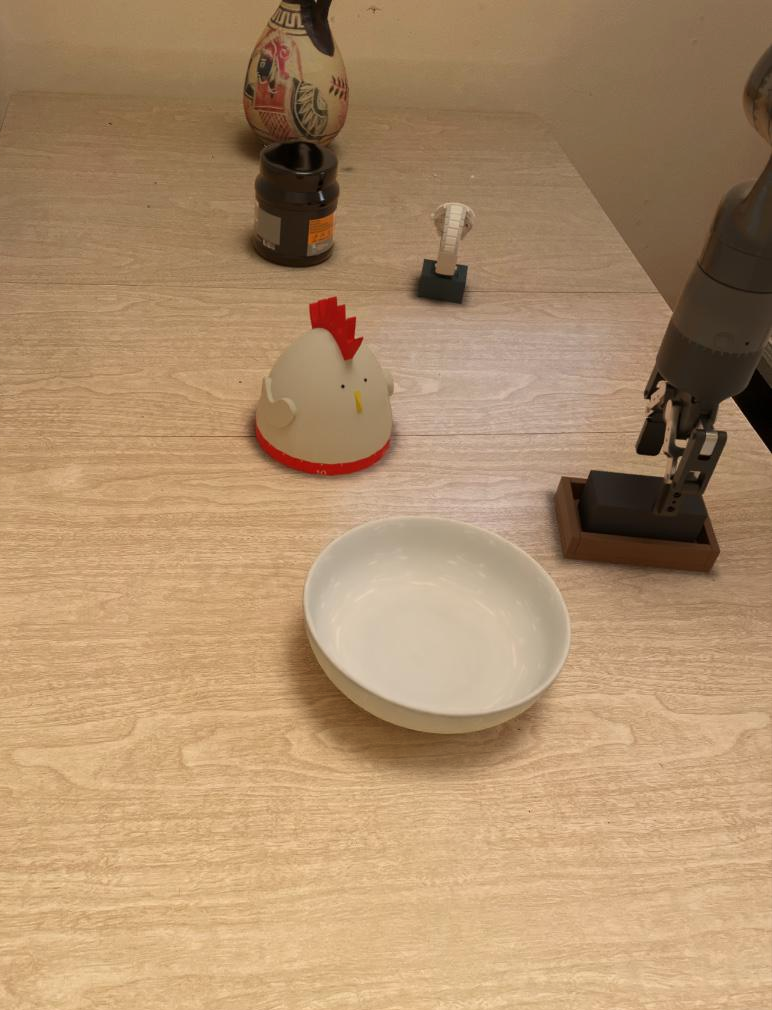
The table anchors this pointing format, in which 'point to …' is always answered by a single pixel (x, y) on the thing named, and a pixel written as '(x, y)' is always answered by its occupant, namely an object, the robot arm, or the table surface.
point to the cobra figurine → (447, 255)
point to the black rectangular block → (635, 508)
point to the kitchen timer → (326, 399)
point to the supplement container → (296, 203)
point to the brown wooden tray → (628, 539)
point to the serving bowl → (435, 623)
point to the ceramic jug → (296, 77)
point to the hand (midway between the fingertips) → (654, 482)
